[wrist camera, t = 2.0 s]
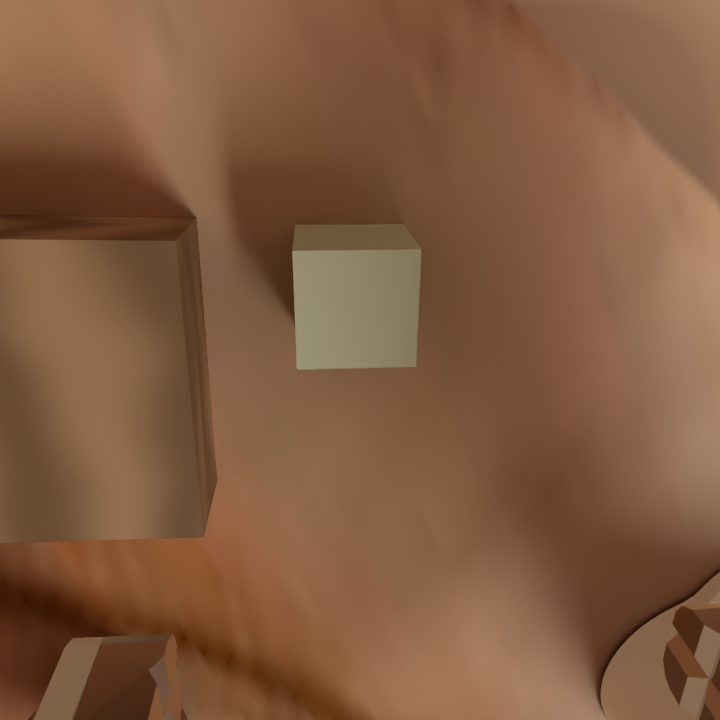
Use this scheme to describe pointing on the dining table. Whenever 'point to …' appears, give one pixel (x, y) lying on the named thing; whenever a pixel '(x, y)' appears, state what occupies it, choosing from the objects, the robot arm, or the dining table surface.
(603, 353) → the dining table surface
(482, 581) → the dining table surface
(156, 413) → the walnut base block
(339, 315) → the sage cube
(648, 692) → the robot arm
